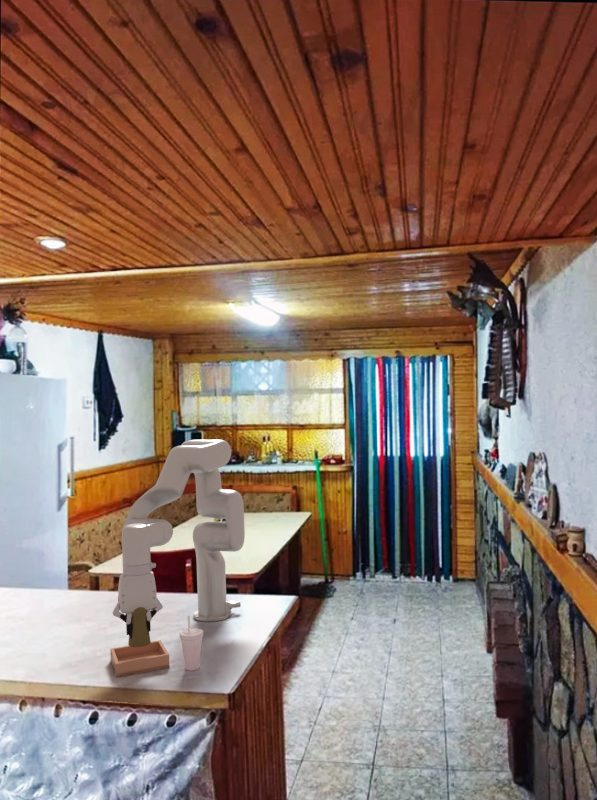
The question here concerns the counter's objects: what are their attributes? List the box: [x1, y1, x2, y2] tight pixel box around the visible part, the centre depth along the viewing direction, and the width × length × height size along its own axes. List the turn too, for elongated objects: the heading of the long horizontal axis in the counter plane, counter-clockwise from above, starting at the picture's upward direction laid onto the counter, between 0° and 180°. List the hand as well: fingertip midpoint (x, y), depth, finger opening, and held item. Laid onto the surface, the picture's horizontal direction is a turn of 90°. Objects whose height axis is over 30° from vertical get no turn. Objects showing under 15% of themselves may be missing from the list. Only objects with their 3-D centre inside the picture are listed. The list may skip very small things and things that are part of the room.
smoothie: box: [179, 615, 204, 671], centre depth 176 cm, size 6×6×14 cm
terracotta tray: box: [110, 639, 170, 678], centre depth 179 cm, size 14×12×4 cm
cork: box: [127, 607, 152, 647], centre depth 179 cm, size 6×6×11 cm
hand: (138, 635), depth 179 cm, fingers closed on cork, 3 cm apart
